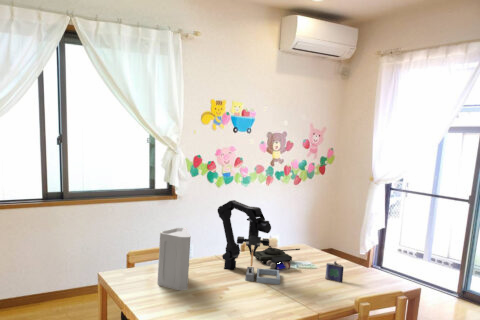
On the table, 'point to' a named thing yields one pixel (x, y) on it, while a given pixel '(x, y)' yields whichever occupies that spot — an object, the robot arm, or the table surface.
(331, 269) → the wallet
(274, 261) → the figurine character
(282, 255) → the toy tank
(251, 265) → the tan wooden block
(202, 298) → the table surface
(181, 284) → the tall grey upright pillar
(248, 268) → the dispenser
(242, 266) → the table surface
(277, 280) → the tray
